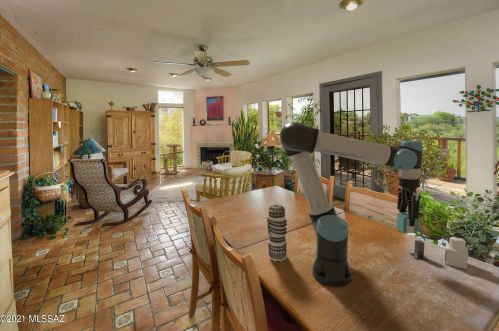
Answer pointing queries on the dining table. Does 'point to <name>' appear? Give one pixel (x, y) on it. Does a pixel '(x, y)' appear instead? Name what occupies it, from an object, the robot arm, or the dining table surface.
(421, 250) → the dark grey upright block
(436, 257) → the dining table surface
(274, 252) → the model tower building
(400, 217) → the teal cube
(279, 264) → the dining table surface
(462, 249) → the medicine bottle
